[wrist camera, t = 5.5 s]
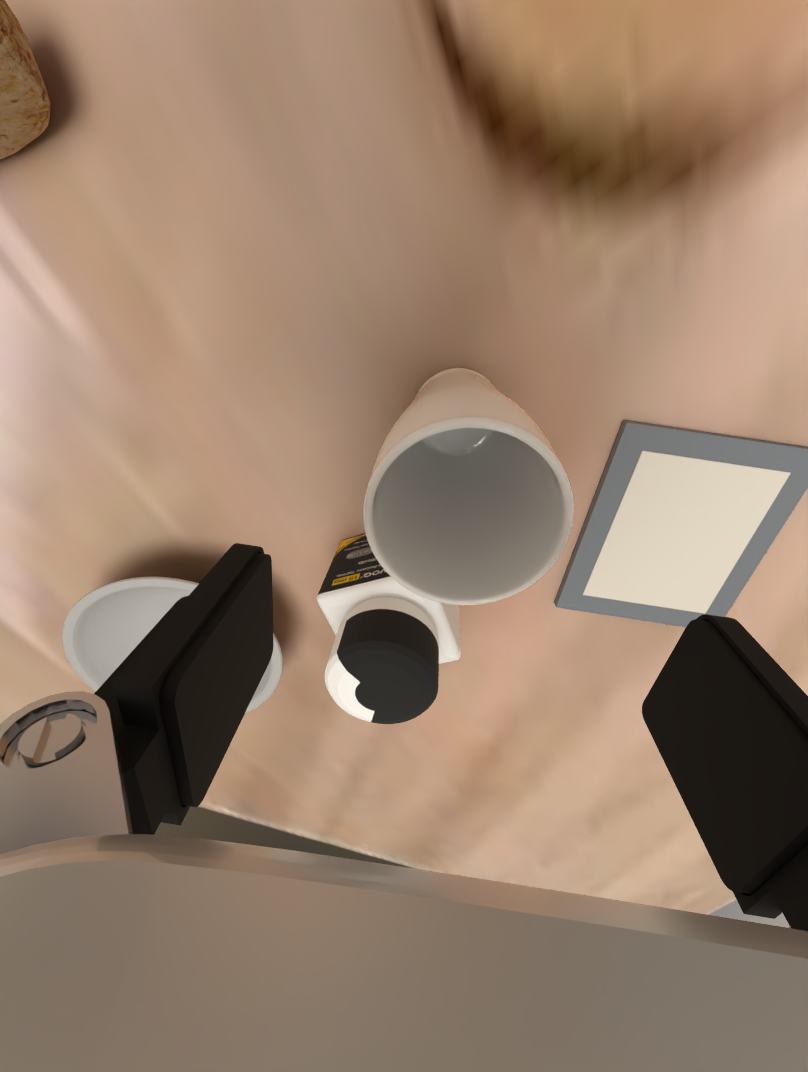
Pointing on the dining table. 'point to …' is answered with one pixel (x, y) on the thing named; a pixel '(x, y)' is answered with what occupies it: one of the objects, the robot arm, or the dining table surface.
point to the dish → (133, 629)
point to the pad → (680, 523)
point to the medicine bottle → (383, 638)
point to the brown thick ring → (19, 88)
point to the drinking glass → (466, 495)
